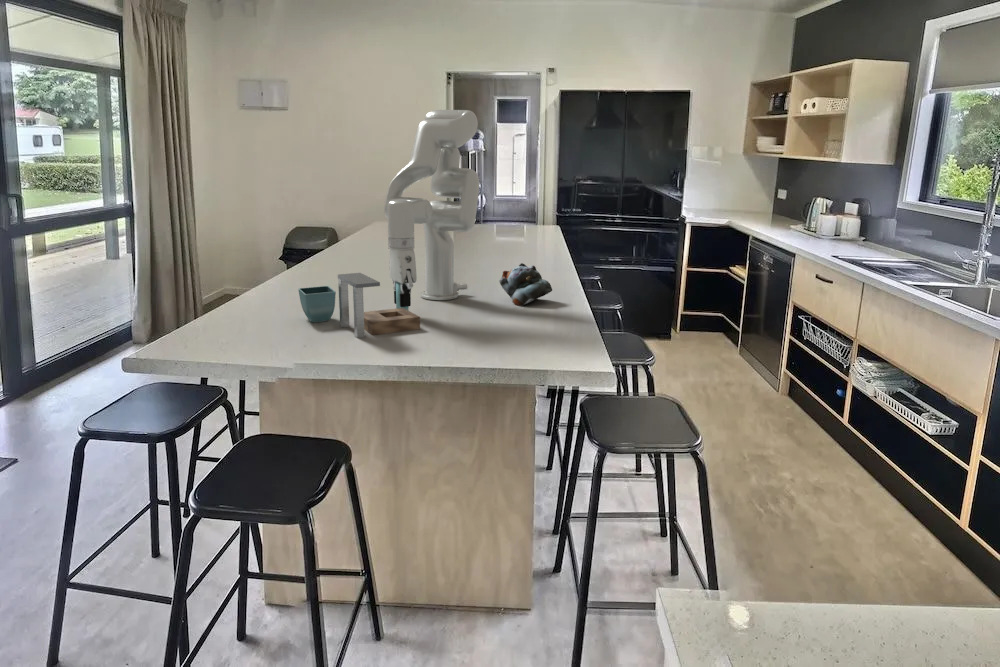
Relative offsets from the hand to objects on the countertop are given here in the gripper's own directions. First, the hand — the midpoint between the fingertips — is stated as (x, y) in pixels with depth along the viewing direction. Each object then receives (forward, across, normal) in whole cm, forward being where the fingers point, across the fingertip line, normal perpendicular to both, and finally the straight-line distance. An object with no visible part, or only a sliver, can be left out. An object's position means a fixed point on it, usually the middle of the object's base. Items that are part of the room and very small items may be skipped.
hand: (402, 304), depth 212 cm
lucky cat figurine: (+4, -1, -43) cm, 43 cm away
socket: (+3, -11, +9) cm, 15 cm away
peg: (+3, 0, 0) cm, 3 cm away
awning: (+3, -11, +17) cm, 21 cm away
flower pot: (+4, +5, +24) cm, 25 cm away
